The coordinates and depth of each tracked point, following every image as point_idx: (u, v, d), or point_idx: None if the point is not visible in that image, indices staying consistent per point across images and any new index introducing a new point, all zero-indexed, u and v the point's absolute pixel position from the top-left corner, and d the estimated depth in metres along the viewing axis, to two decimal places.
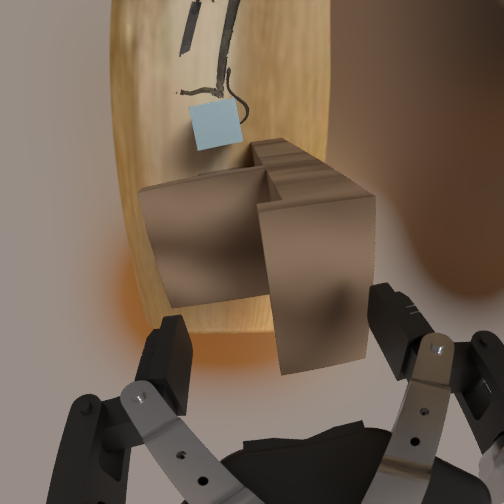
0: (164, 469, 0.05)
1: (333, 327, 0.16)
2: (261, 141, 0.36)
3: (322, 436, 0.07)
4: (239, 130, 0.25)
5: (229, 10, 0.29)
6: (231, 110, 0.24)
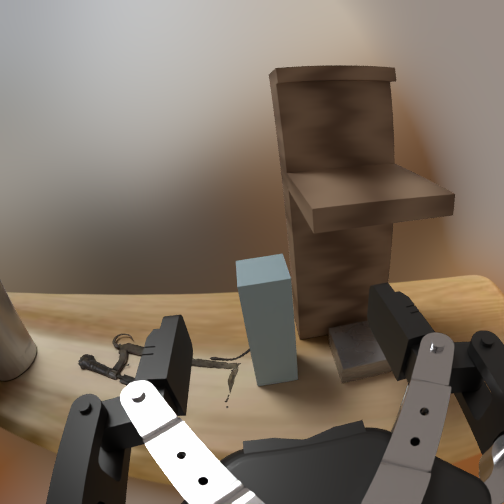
0: (164, 469, 0.05)
1: None
2: (297, 326, 0.34)
3: (322, 436, 0.07)
4: (270, 256, 0.26)
5: None
6: (248, 261, 0.26)
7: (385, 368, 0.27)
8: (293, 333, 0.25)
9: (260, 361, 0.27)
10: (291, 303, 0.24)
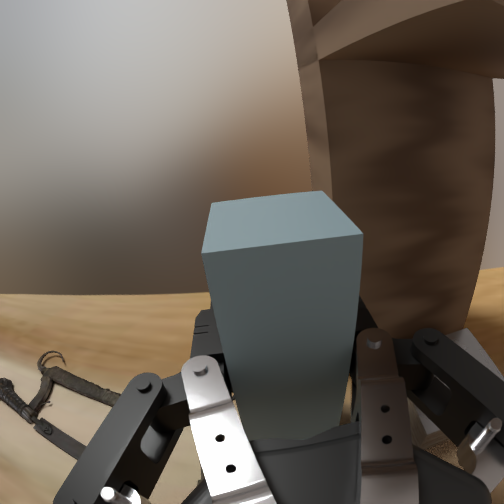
0: (198, 447, 0.06)
1: None
2: None
3: (322, 436, 0.07)
4: (295, 194, 0.11)
5: (73, 385, 0.18)
6: (242, 202, 0.11)
7: None
8: (344, 380, 0.10)
9: (260, 432, 0.11)
10: (353, 309, 0.08)
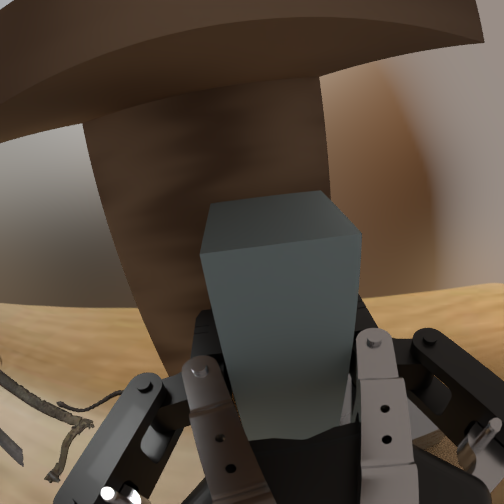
0: (198, 447, 0.06)
1: None
2: None
3: (322, 436, 0.07)
4: (293, 194, 0.11)
5: (1, 380, 0.19)
6: (240, 203, 0.11)
7: (420, 445, 0.12)
8: (343, 380, 0.10)
9: (261, 432, 0.11)
10: (352, 309, 0.08)
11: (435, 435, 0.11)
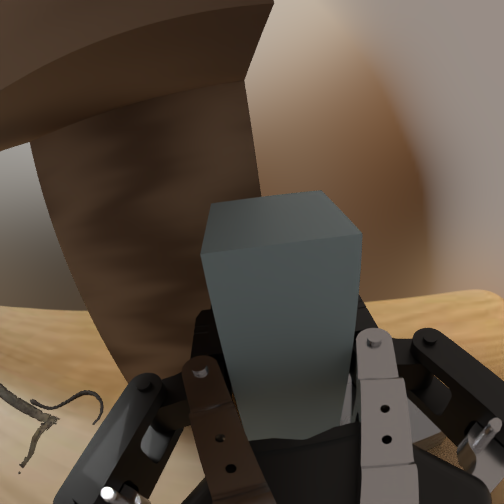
0: (199, 447, 0.06)
1: None
2: None
3: (322, 436, 0.07)
4: (294, 194, 0.11)
5: None
6: (241, 203, 0.11)
7: None
8: (344, 380, 0.10)
9: (261, 432, 0.11)
10: (353, 309, 0.08)
11: (435, 438, 0.11)
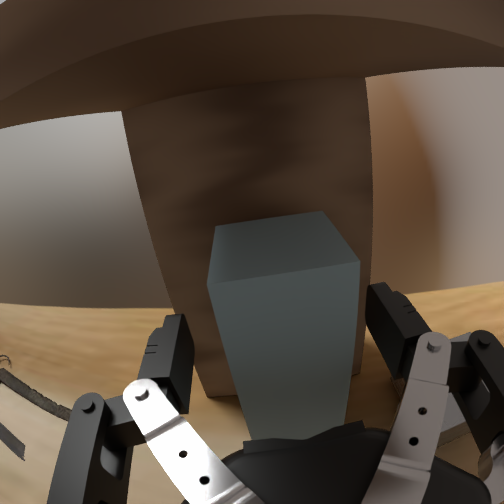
0: (166, 468, 0.06)
1: None
2: None
3: (322, 436, 0.07)
4: (296, 215, 0.11)
5: (12, 384, 0.19)
6: (244, 226, 0.11)
7: None
8: (345, 392, 0.10)
9: None
10: (352, 329, 0.09)
11: None
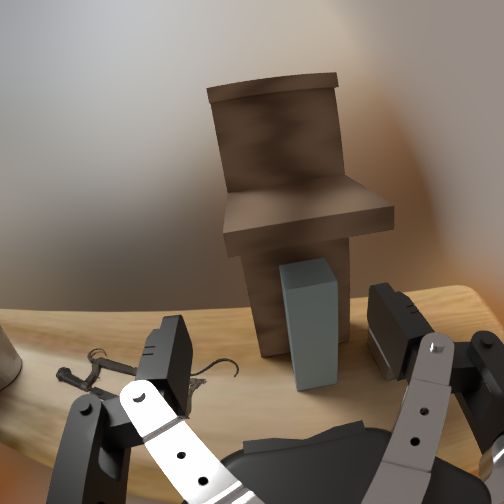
0: (164, 469, 0.05)
1: None
2: None
3: (322, 436, 0.07)
4: (313, 260, 0.26)
5: (114, 367, 0.34)
6: (292, 265, 0.26)
7: None
8: (336, 336, 0.25)
9: (301, 365, 0.26)
10: (336, 306, 0.23)
11: None
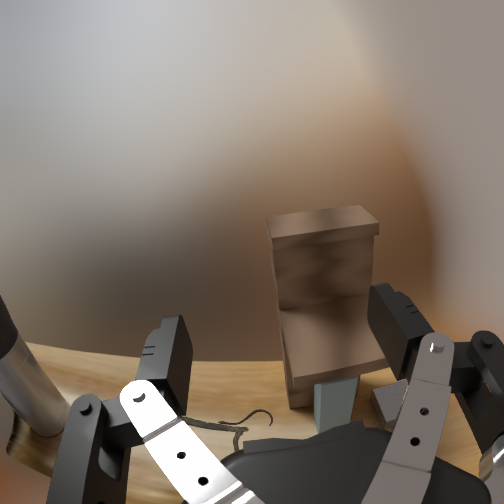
0: (164, 469, 0.05)
1: (337, 215, 0.29)
2: (288, 399, 0.41)
3: (322, 436, 0.07)
4: None
5: None
6: None
7: None
8: (351, 406, 0.32)
9: (324, 423, 0.33)
10: (354, 390, 0.30)
11: None
